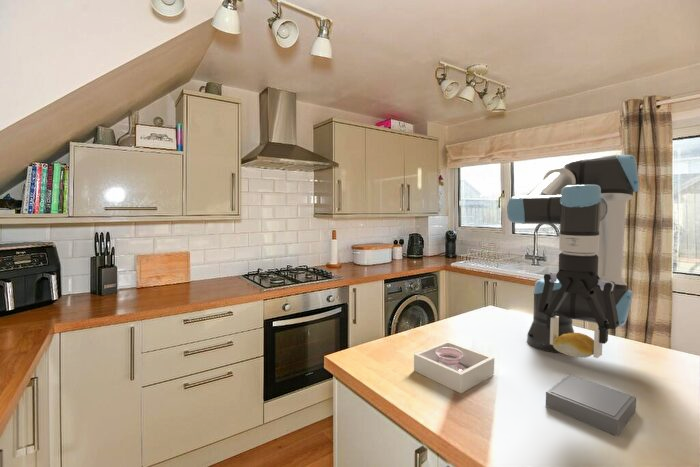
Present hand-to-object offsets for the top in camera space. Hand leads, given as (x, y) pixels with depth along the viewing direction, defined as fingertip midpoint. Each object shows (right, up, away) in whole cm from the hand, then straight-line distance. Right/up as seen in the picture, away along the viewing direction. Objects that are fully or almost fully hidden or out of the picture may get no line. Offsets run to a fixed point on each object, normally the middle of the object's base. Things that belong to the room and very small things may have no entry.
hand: (574, 349), depth 80 cm
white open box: (-22, -14, +20) cm, 33 cm away
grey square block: (+4, -15, +1) cm, 15 cm away
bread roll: (0, -1, 0) cm, 1 cm away
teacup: (-24, -14, +20) cm, 34 cm away
